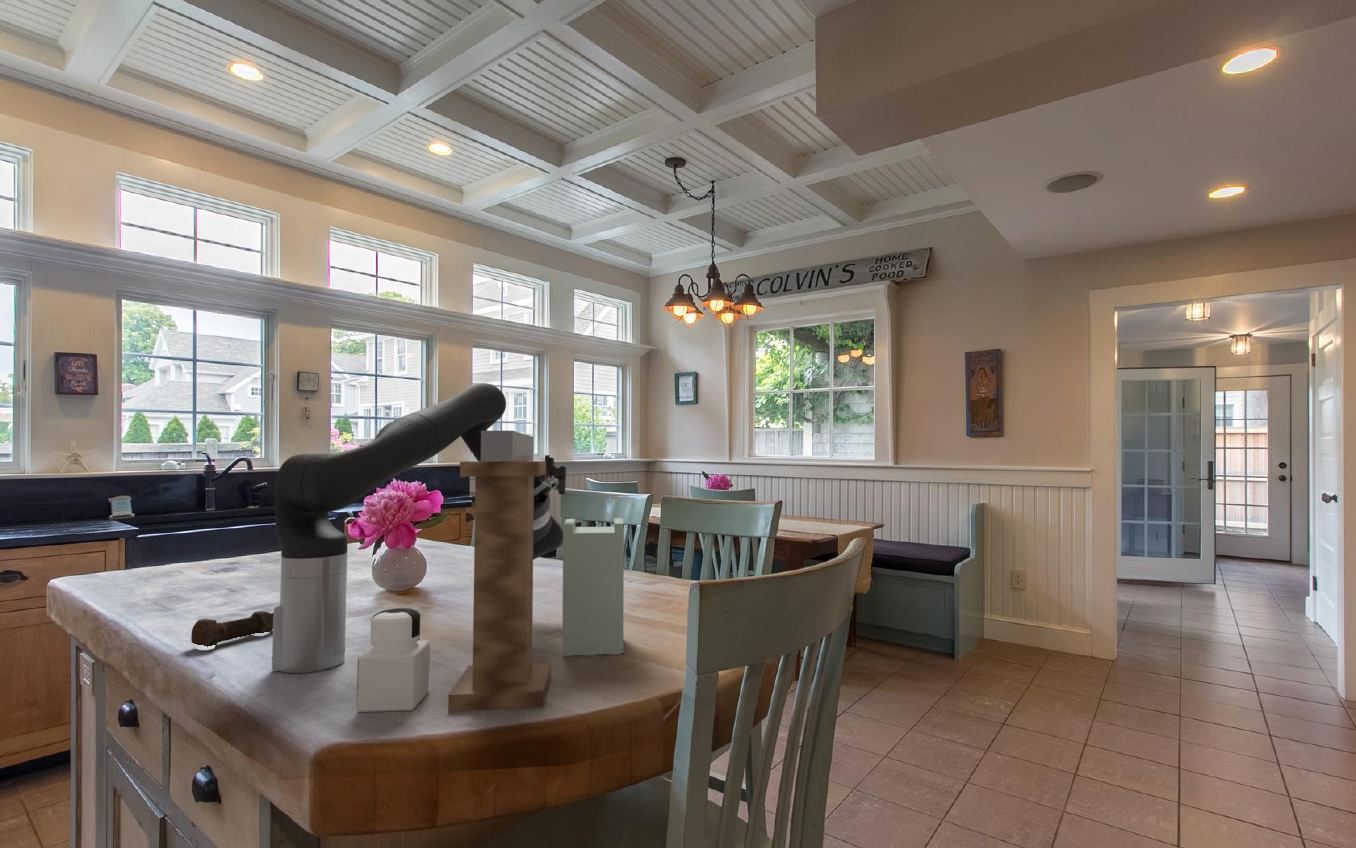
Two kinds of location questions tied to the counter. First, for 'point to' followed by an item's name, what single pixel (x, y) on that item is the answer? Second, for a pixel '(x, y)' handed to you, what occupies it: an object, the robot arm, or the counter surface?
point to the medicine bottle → (393, 663)
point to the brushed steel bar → (506, 446)
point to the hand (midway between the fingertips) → (520, 459)
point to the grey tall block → (593, 589)
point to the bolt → (230, 628)
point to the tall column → (502, 591)
